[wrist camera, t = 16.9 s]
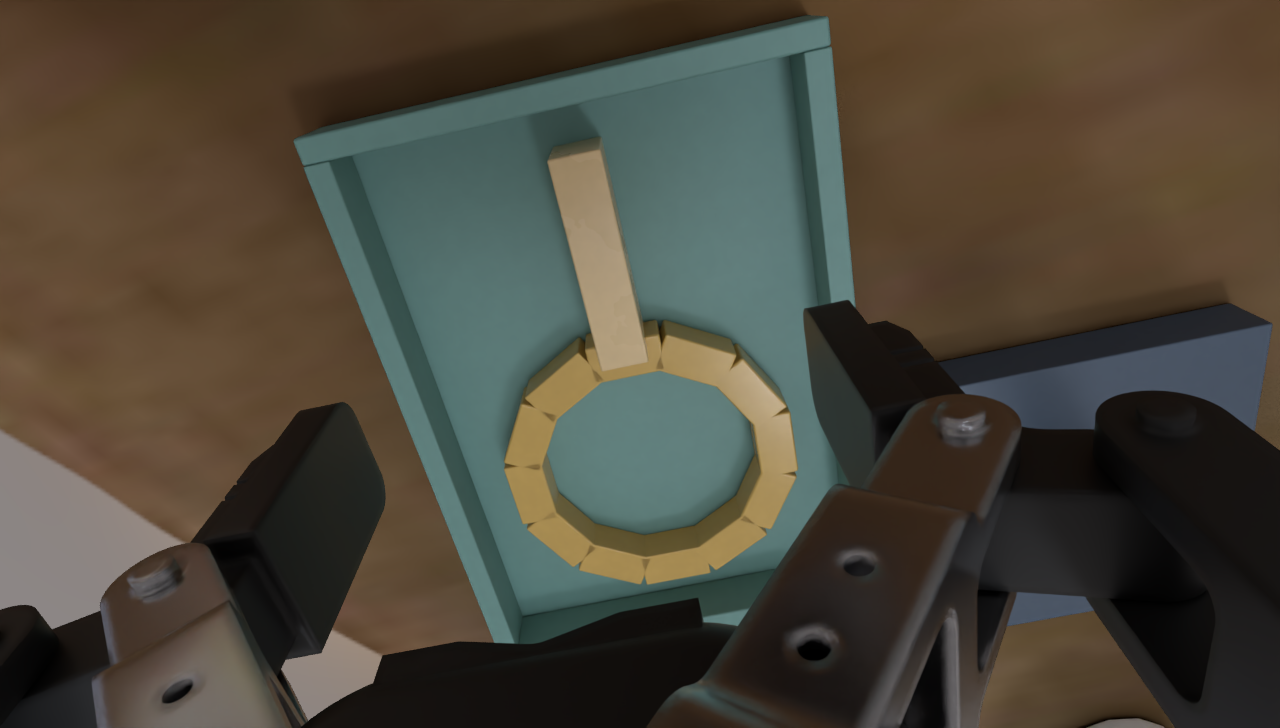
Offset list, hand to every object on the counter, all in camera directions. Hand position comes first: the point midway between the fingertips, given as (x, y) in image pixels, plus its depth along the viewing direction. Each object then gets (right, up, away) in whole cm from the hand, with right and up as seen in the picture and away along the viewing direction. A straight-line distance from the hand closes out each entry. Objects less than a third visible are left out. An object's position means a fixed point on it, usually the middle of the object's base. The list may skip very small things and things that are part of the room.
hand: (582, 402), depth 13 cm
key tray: (+1, 0, +15) cm, 15 cm away
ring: (+1, 0, +14) cm, 14 cm away
